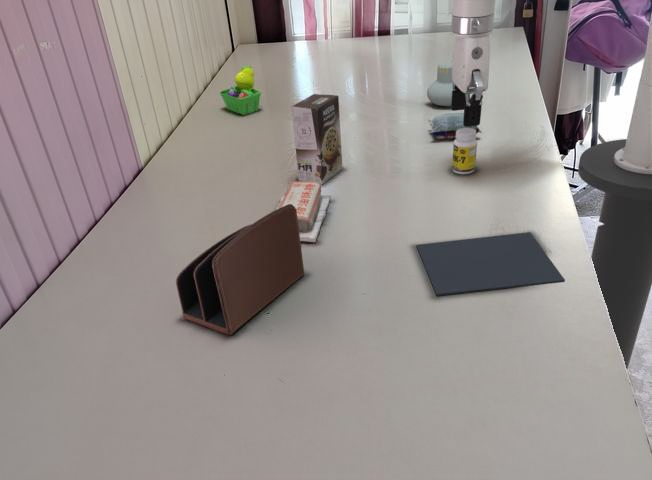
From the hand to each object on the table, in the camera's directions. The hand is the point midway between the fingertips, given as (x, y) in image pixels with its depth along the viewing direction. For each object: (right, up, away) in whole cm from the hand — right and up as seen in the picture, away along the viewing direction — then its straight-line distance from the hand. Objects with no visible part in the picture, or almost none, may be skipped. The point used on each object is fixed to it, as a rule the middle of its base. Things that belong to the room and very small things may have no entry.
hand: (464, 117), depth 128 cm
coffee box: (-29, -9, +12) cm, 32 cm away
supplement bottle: (+1, -9, +7) cm, 11 cm away
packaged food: (+3, +4, +23) cm, 24 cm away
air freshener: (+6, +19, +42) cm, 46 cm away
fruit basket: (-50, +22, +54) cm, 77 cm away
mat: (-2, -33, -23) cm, 40 cm away
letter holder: (-42, -38, -24) cm, 62 cm away
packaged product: (-34, -22, -4) cm, 40 cm away
